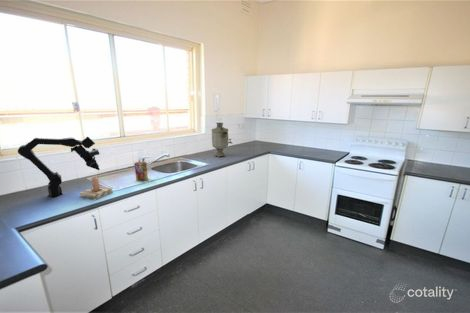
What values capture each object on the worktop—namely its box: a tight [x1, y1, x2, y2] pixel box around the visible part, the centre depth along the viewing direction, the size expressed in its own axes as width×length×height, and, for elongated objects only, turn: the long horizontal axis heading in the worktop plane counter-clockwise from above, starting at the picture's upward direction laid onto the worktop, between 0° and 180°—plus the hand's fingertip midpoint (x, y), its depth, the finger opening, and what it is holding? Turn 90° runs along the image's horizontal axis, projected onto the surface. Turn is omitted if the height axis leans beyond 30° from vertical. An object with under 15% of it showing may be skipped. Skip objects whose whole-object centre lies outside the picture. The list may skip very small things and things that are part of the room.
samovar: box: [211, 122, 233, 159], centre depth 274 cm, size 30×26×40 cm
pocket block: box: [79, 185, 114, 200], centre depth 164 cm, size 14×14×3 cm
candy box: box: [134, 160, 149, 181], centre depth 193 cm, size 9×4×15 cm, turn 104°
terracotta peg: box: [91, 177, 100, 192], centre depth 163 cm, size 4×4×12 cm
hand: (98, 168), depth 173 cm, fingers open, 9 cm apart
